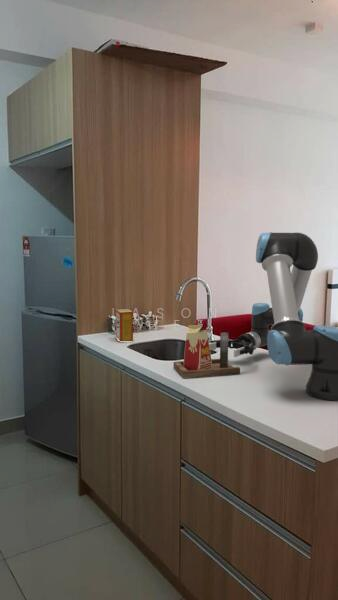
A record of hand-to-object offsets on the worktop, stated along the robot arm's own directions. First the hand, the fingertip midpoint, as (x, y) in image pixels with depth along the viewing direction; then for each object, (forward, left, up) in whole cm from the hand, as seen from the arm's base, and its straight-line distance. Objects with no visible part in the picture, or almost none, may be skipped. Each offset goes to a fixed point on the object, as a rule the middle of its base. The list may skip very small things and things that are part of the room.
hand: (220, 350), depth 193 cm
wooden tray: (+1, +6, -8) cm, 10 cm away
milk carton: (+1, +9, -9) cm, 13 cm away
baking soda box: (+64, +28, -9) cm, 71 cm away
